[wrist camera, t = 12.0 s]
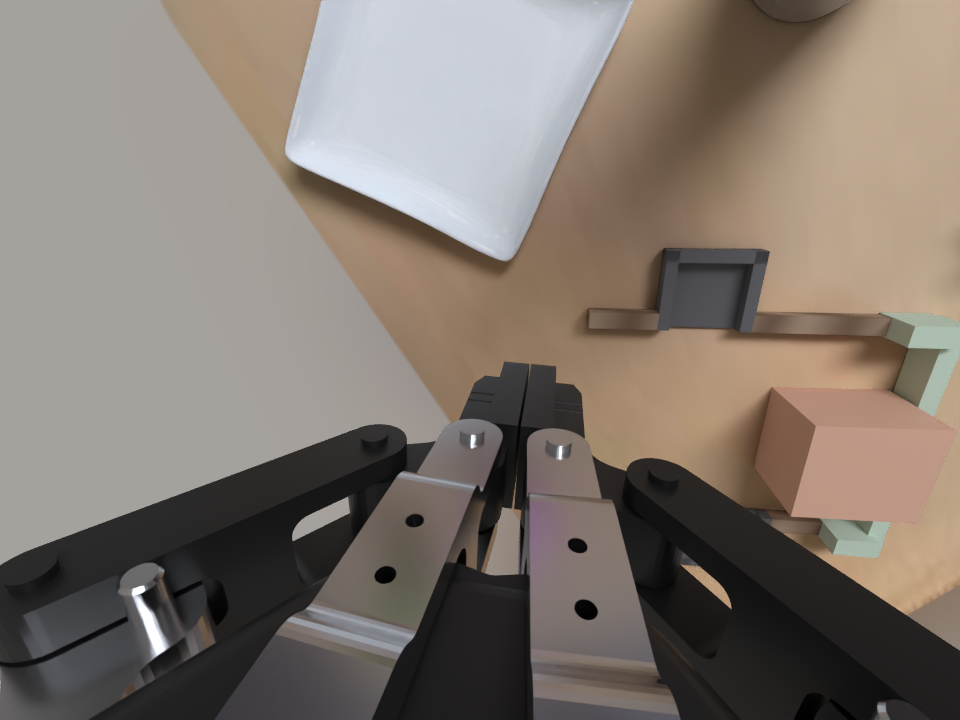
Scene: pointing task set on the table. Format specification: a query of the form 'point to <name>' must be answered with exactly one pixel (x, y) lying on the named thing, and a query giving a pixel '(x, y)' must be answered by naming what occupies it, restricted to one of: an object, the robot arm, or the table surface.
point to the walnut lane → (762, 324)
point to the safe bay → (919, 384)
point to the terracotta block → (850, 454)
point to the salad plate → (450, 105)
